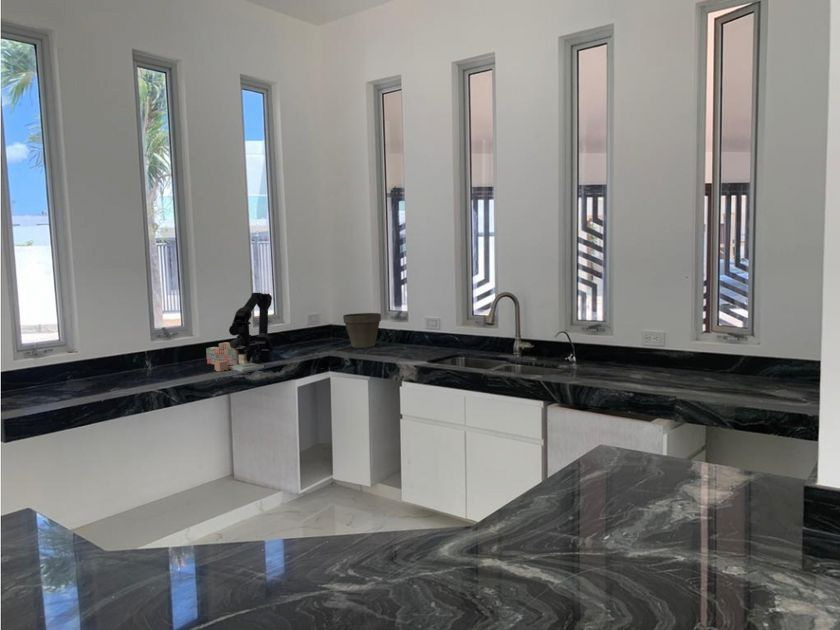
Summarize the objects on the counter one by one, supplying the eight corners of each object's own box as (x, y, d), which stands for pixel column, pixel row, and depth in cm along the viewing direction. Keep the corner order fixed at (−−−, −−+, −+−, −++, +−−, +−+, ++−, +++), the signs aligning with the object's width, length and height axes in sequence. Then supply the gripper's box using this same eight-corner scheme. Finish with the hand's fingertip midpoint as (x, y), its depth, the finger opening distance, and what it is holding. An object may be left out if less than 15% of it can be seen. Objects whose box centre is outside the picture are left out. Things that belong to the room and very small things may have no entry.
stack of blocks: (206, 364, 385) (205, 343, 384) (213, 362, 391) (212, 341, 390) (237, 365, 377) (236, 344, 376) (244, 363, 383) (242, 342, 382)
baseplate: (249, 365, 375) (249, 362, 375) (264, 367, 366) (264, 365, 366) (227, 369, 365) (227, 366, 364) (242, 371, 355) (242, 368, 355)
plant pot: (344, 345, 450) (343, 313, 448) (381, 343, 453) (379, 311, 451) (344, 350, 425) (343, 316, 423) (383, 348, 428) (381, 315, 426)
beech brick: (246, 362, 369) (246, 353, 368) (252, 363, 365) (251, 354, 365) (239, 363, 365) (238, 354, 364) (244, 364, 362) (243, 355, 361)
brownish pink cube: (222, 369, 365) (222, 360, 364) (228, 370, 362) (227, 361, 361) (214, 370, 361) (214, 361, 361) (220, 371, 358) (219, 362, 357)
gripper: (221, 333, 364) (223, 362, 365) (241, 336, 351) (242, 365, 353) (239, 331, 372) (240, 359, 373) (258, 333, 360) (260, 362, 361)
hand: (245, 361), depth 365 cm, fingers closed on beech brick, 5 cm apart
